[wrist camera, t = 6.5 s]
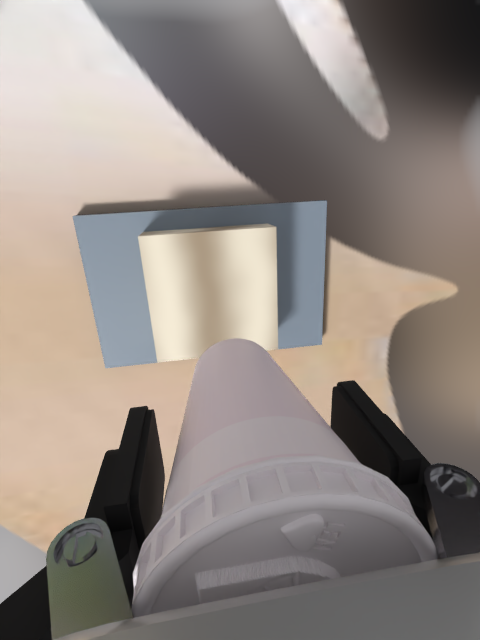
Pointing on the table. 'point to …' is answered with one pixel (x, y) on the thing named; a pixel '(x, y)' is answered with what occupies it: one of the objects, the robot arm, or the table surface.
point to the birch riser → (210, 287)
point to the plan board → (124, 228)
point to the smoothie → (265, 495)
